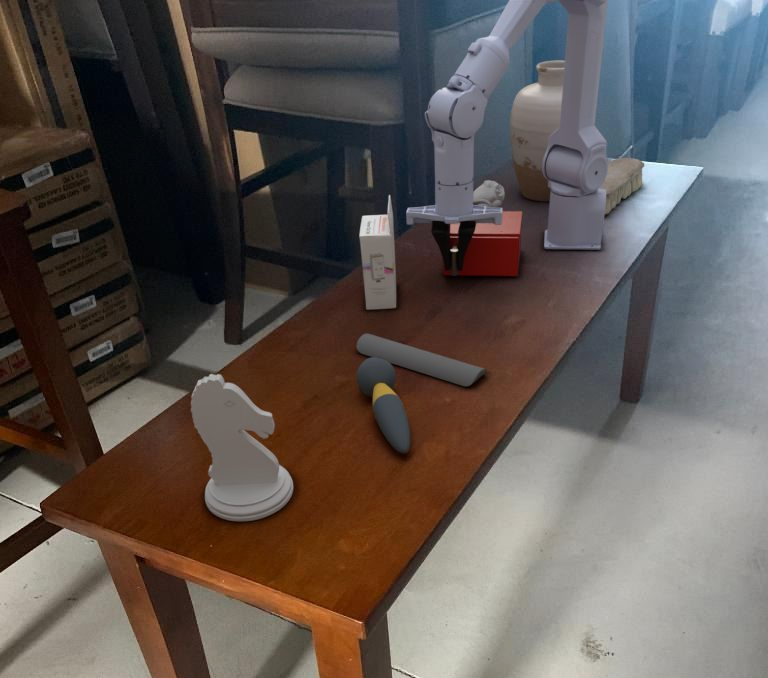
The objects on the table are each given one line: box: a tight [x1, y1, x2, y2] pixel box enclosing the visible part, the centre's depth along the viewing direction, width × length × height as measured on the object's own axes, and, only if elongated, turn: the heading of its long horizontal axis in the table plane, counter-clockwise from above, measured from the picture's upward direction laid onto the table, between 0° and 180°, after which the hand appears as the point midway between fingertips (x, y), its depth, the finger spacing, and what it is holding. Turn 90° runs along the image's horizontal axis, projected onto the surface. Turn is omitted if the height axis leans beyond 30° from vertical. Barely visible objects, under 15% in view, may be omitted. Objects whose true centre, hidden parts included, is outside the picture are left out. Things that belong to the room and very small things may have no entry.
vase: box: [509, 59, 565, 202], centre depth 147 cm, size 16×16×23 cm
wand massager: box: [356, 357, 411, 454], centre depth 95 cm, size 20×5×5 cm, turn 17°
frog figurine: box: [473, 179, 505, 208], centre depth 143 cm, size 6×7×7 cm
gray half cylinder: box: [356, 333, 487, 387], centre depth 105 cm, size 4×20×2 cm, turn 53°
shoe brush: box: [598, 157, 645, 215], centre depth 148 cm, size 24×8×5 cm, turn 147°
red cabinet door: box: [442, 236, 518, 277], centre depth 123 cm, size 12×4×6 cm, turn 80°
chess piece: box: [190, 373, 294, 522], centre depth 81 cm, size 10×10×15 cm
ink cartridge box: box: [358, 194, 397, 311], centre depth 118 cm, size 9×5×15 cm, turn 179°
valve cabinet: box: [450, 210, 523, 277], centre depth 128 cm, size 12×10×7 cm
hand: (454, 268), depth 123 cm, fingers closed on red cabinet door
